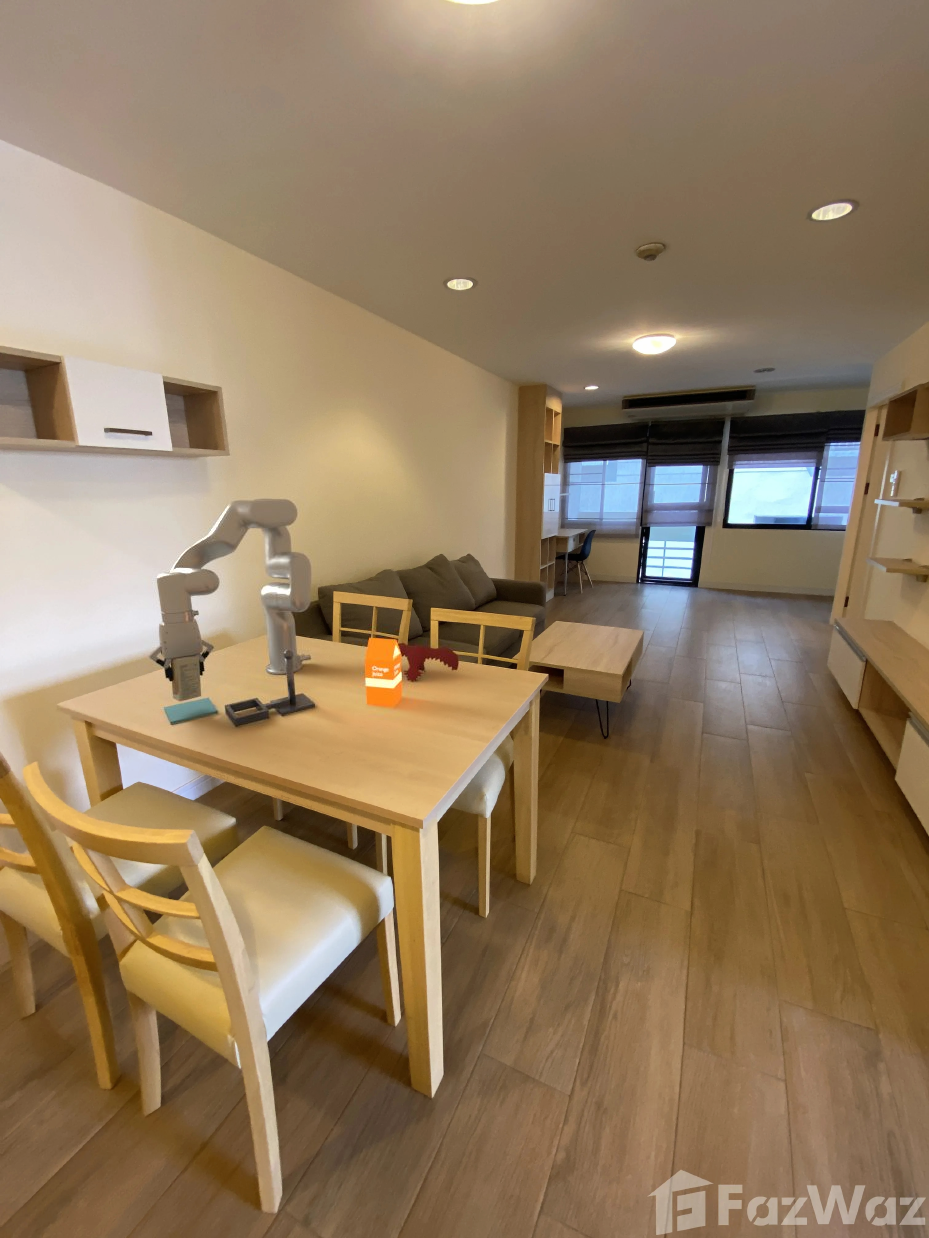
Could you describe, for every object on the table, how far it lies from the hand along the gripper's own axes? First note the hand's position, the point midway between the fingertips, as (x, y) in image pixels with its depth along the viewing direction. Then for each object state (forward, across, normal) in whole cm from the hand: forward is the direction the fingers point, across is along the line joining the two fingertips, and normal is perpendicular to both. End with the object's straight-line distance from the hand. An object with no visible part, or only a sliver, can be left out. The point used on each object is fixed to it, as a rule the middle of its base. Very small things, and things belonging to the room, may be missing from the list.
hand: (185, 676), depth 143 cm
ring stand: (+11, -19, +14) cm, 26 cm away
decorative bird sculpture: (+11, -69, +15) cm, 72 cm away
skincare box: (+6, +1, +1) cm, 6 cm away
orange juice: (+11, -49, +27) cm, 57 cm away
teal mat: (+11, 0, 0) cm, 11 cm away
